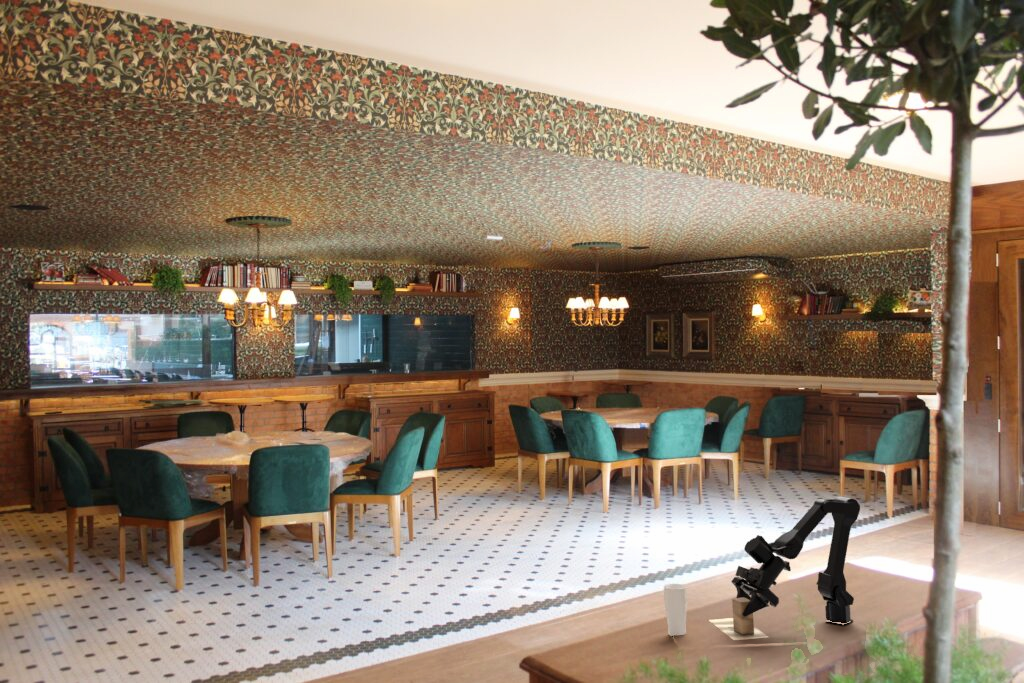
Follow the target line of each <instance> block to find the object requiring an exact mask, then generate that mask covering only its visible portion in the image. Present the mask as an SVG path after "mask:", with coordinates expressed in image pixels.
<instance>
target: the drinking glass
mask: <svg viewBox="0 0 1024 683" xmlns="http://www.w3.org/2000/svg"><path fill="white" fill-rule="evenodd" d="M686 587H687V586H686V585H684V584H683V583H682V584H681V583H680V584H679V583H669V584H666V585H665V584H664V586H663V597H664V608H665V613H666V614H665V615H666V620H667V621H666V623H667V632H668V635H669V636H670V637H672V636H673V638H675V636H683V635H687V625H686V624H687V603H688V602H687V599H688V598H687V588H686Z"/></svg>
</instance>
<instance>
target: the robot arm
mask: <svg viewBox="0 0 1024 683" xmlns="http://www.w3.org/2000/svg"><path fill="white" fill-rule="evenodd" d="M860 511H861V506H860V503H859V501H858V500H857V499H855V498H851V497H846V496H841V495H840V496H837V497H835V498H833V499H832V498H831V499H829V498H828V499H822V498H821V499H820V498H819V499H816V500H814V502H813V504H812V506H811V507H810V508H809V509H808V510H807V511H806V513H805V514H804V515H803V516H802V517H801V518H800V520H799V521H798V522H797V523H796V524H795V525H794V526H793V528H791V529H790V530H789V531H787V532H784V533H783V534H781V535H780V536H778V538H776V539H775V540H774V541H773V542H768V541H766V539H765V538H764V536H761V535H759V534H758V535H756V537H753V538H752V539H750V540H749V541H747V542H746V544H745V545H744V552H746V553H747V555H749V557H751V558H752V559H753V560H754V561H755V562H756V563H757V564H760V565H761V566H759V567H758V568H755V567H750V568H749V569H748V568H745V567H743V566H741V565H738V566H737V568H736V572H735V577H733V578H732V580H731V583H732V584H733V586H734V587H735V589H736V591H737V594H736V597H735V598H741V597H744V598H747V599H749V600H750V602H749V603H748V605H747V607H746V608H745V610H744V612H743V616H744V617H746V616H748V615H750V614H752V613H753V614H754V613H756V612H757V611H760V610H762V609H764V608H768V607H770V606H771V607H773V608H777V606H778V605H779V603H780V598H779V597H778V596H777V595H776V594H775V593H774V592H773V591H772V590H771V589H770V588H771V587H772V586H776V585H777V584H778V582H777V581H776V580H777V578H778V577H779V576H780V575H781V573H782V571H783V570H784V571H787V572H791V570H792V569H791V566H790V561H787V560H784V559H788V560H795V559H796V558H798V556H799V555H800V553H801V551H802V550H803V548H804V543H805V541H806V539H807V538H808V537H809V536H810V534H811V533H812V532H813V531H814V530H815V529H816V528H817V526H818V525H820V523H821V521H823V519H824V518H825V517H826V516H827V515H828V514H831V516H832V519H833V522H834V523H833V524H834V525H833V531H832V536H831V542H830V548H829V555H828V559H827V564H826V565H827V566H826V568H825V570H824V571H823V572H821V571H819V572H818V574H817V582H816V583H815V584H816V585H817V591H818V592H819V594H820V595H821V596H822V600H823V601H826V605H825V608H824V609H825V620H830V621H832V622H841V623H847V622H849V621H853V622H854V619H852V617H851V606H853V604H854V601H855V598H854V596H852V594H851V593H849V592H848V591H847V580H846V577H845V574H844V569H845V562H846V557H847V552H848V546H849V545H848V544H849V540H850V535H851V534H850V533H851V528H852V526H853V525H855V523H856V521H857V520H858V517H859V515H860ZM783 558H784V559H783Z"/></svg>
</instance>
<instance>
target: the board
mask: <svg viewBox="0 0 1024 683" xmlns="http://www.w3.org/2000/svg"><path fill="white" fill-rule="evenodd" d="M708 621H709V622H710V623H711V624H712V625H714V626H715V627H716V628H718V629H719V630H720V631H721V632H722V633H723V634H725V635H727V637H729V638H730V639H732V641H740V640H741V641H744V640H754V639H766V638H770V637H769V636H768V635H766V634H765V633H764V632H762V631H761V630H760V629H759V628H757V627H756V626H754V634H753V635H746V636H742V635H740V634H738V633H736V632H734V624H733V617H727V618H718V619H717V618H716V619H709V620H708Z"/></svg>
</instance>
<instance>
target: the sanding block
mask: <svg viewBox="0 0 1024 683" xmlns="http://www.w3.org/2000/svg"><path fill="white" fill-rule="evenodd" d="M749 602H750V600H749V599H747V598H744V597H741V598H736V597H734V598H731V603H732V618H733V624H734V632H736V633H738V634H740V635H742V636H746V635H753V634H754V627H755V624H754V621H755V620H754V613H752V614H750V615H748V616H746V617H744V616H743V612H744V610H745V608H746V607H747V605H748V603H749Z"/></svg>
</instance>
